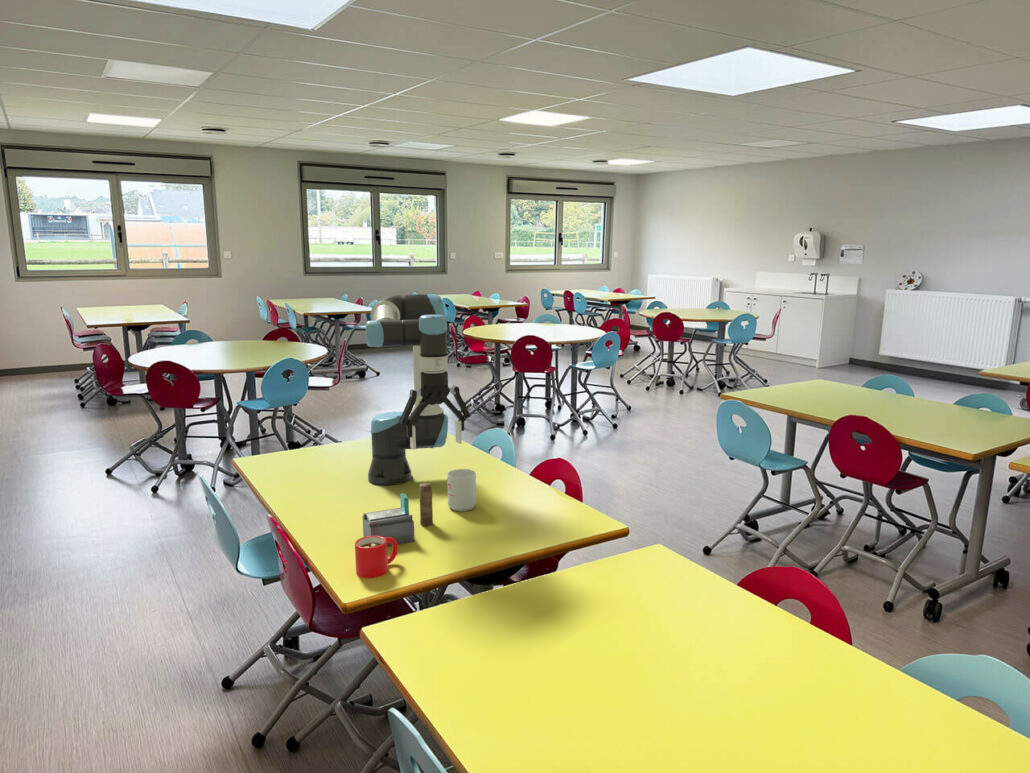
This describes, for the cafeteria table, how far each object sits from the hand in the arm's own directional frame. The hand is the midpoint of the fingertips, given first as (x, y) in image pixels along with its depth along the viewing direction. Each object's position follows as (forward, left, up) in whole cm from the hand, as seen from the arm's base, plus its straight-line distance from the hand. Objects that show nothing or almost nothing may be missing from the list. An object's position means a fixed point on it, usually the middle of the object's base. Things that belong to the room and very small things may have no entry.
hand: (436, 445), depth 197 cm
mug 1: (+17, -22, -26) cm, 38 cm away
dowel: (-6, -2, -25) cm, 26 cm away
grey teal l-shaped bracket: (0, -15, -19) cm, 24 cm away
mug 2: (-16, +12, -26) cm, 32 cm away
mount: (0, -15, -25) cm, 29 cm away
